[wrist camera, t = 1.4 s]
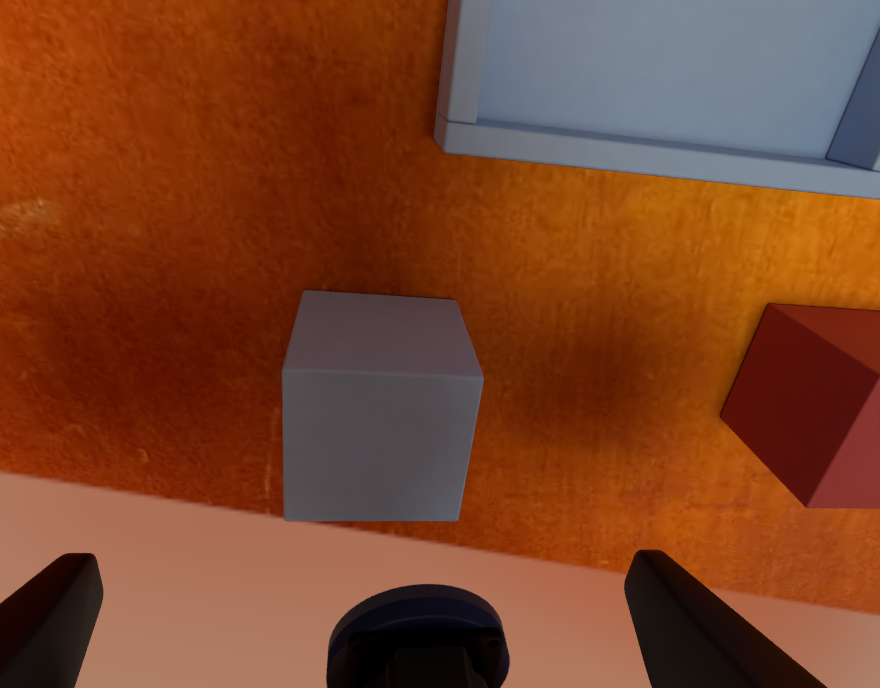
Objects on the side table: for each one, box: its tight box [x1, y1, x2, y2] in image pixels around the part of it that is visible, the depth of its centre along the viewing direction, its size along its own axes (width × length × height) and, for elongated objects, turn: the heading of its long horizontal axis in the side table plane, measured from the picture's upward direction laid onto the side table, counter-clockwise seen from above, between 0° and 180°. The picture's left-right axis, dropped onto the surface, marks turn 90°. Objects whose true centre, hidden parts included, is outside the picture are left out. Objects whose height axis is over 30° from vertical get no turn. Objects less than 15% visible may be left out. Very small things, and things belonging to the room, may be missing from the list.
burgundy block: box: [720, 304, 880, 509], centre depth 15 cm, size 4×4×4 cm
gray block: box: [282, 290, 484, 521], centre depth 14 cm, size 4×4×4 cm
